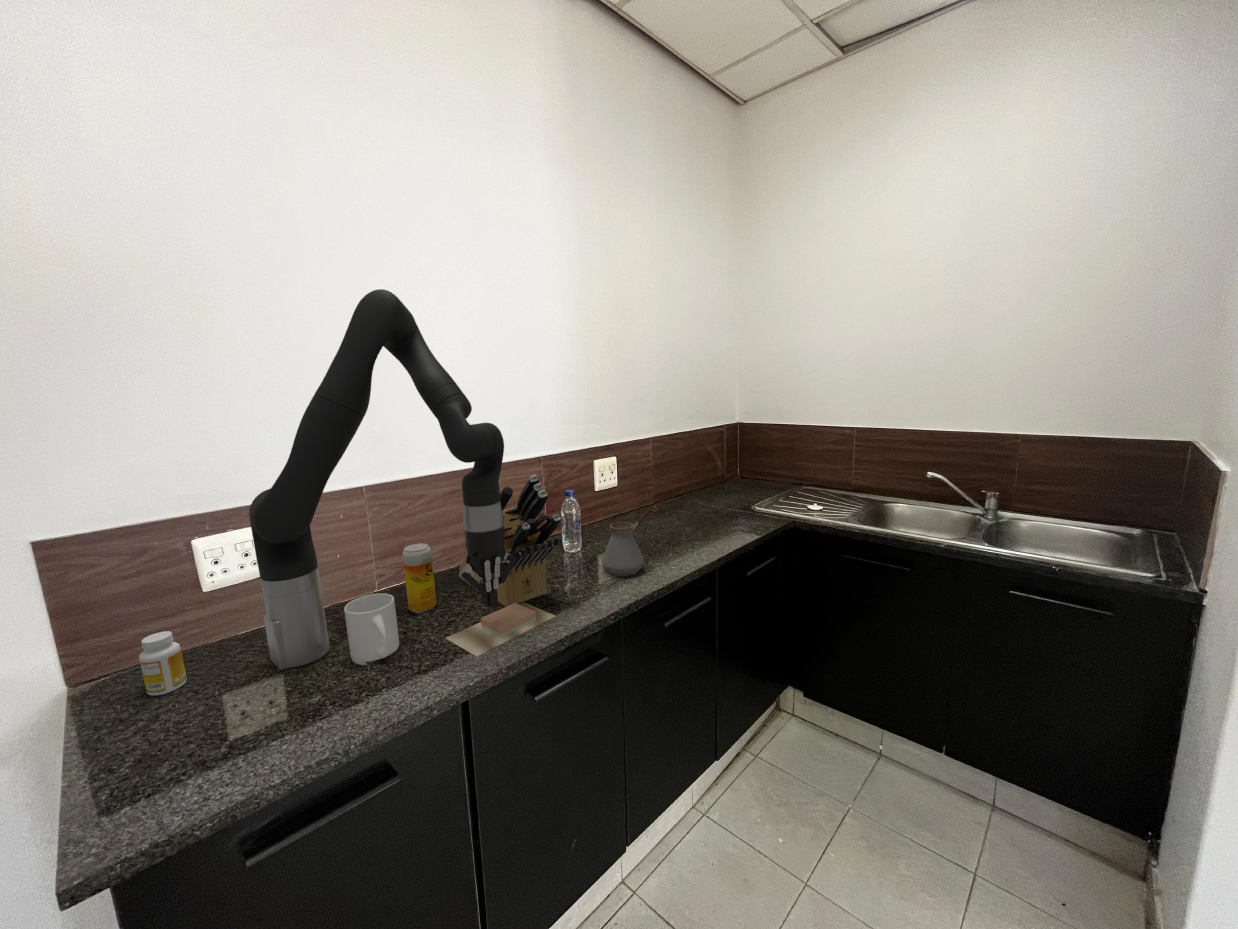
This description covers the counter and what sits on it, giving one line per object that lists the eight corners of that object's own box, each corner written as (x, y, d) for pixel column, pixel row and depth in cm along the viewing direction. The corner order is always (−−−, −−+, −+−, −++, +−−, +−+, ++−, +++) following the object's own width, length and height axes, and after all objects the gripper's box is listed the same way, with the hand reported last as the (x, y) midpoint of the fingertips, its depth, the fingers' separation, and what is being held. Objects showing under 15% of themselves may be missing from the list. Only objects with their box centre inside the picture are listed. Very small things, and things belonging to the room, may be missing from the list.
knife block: (527, 626, 106) (517, 484, 101) (458, 580, 132) (447, 465, 127) (570, 609, 113) (563, 476, 108) (497, 568, 139) (488, 459, 134)
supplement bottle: (183, 674, 92) (173, 626, 91) (190, 685, 89) (180, 634, 87) (144, 689, 88) (133, 638, 87) (149, 700, 85) (138, 648, 83)
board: (477, 661, 93) (476, 656, 93) (445, 642, 100) (445, 638, 100) (556, 620, 108) (556, 616, 108) (524, 606, 115) (523, 602, 115)
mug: (363, 680, 89) (355, 624, 87) (346, 654, 97) (339, 603, 96) (412, 661, 94) (406, 608, 92) (391, 638, 103) (386, 589, 101)
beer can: (427, 615, 113) (420, 552, 110) (403, 613, 114) (396, 551, 111) (441, 603, 118) (435, 543, 116) (419, 602, 120) (412, 542, 117)
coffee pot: (627, 582, 127) (625, 526, 124) (593, 573, 134) (590, 519, 131) (672, 557, 143) (671, 507, 141) (639, 550, 150) (638, 502, 148)
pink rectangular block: (500, 628, 99) (535, 611, 106) (480, 618, 104) (515, 602, 111) (501, 637, 100) (536, 620, 106) (481, 627, 104) (515, 611, 111)
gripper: (465, 536, 91) (472, 624, 94) (522, 519, 101) (527, 599, 104) (443, 529, 96) (451, 613, 99) (500, 514, 106) (506, 590, 109)
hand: (490, 606), depth 101 cm, fingers closed
